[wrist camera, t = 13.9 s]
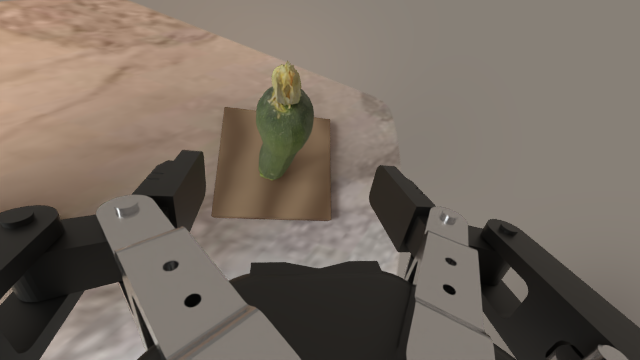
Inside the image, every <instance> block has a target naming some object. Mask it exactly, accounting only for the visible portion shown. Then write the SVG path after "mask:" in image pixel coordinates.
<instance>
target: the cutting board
mask: <svg viewBox="0 0 640 360" xmlns="http://www.w3.org/2000/svg"><path fill="white" fill-rule="evenodd" d="M262 144H263V141H262V139H261V136H260V133H259V131H258V129H257V125H256V111H255V110H246V109H238V108H229V107H225V108H224V117H223V125H222V133H221V141H220V149H219V158H218V166H217V174H216V182H215V191H214V199H213V207H212V215H211V216H212V217H214V218H244V219H277V220H311V221H329V220H331V179H330V119H322V118H314V122H313V128H312V132H311V134H310V136H309V138H308V140H307V142H306V143H305V144H304V146H303V147H302V149H300V150H299V151H298V152H297V153H296V155H295V157H294V159H293V161H292V163H291V164H290V166H289V167H288V169H287V170H286V172H285V173H284V174H283V176H282V177H280V178H278V179H276V180H272V181H271V180H270V179H265V178H264V177H261V176H260V172H259V153H260V149H261V146H262Z"/></svg>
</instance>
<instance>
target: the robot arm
mask: <svg viewBox="0 0 640 360" xmlns="http://www.w3.org/2000/svg"><path fill="white" fill-rule="evenodd" d="M205 190H206V181H205V166H204V155H203V152H202V151H189V150H182V151H181V152H180V154H179V155H178V156H177V157H176V159H175V160H174V161H169V160H168V161H166V162H164V163H162V164H160V165H158V166H156V168H155V169H154V170H153V171H152V172H151V174H149V175H148V177H147V178H146V179H145V180H144V181H143V182H142V183H141V184H140V186H139V187H138V188H137V189H136V190H135V191H134V192H133V193H132V195H126V196H121V197H117V198H114V199H111V200H109V201H107V202H105V203H104V204H102V205H101V206H100V207H99V208H98V209H97V211H96V215H91V216H84V217H77V218H70V219H63V220H61V219H60V217H59V214H58V212H57V210H56V209H55V208H53V207H49V206H41V205H36V206H26V207H20V208H15V209H11V210H8V211H5V212H2V213H0V299H1V298H2V297H3V296H4V295H5V293H6V292H7V291H8V290H9V289H10V288H12V290H13V292H12V293H11V294H10V295H9V296H8V297H7V298H6V300H5V301H4V302H3V303H2V304H1V305H0V360H39V359H40V358H41V356H42V355H43V353H44V352H45V350H46V349H47V347H48V346H49V344H50V342H51V341H52V339H53V338H54V336H55V335H56V333H57V332H58V330H59V329H60V327H61V326H62V324H63V323H64V321H65V320H66V318H67V317H68V315H69V314H70V312H71V311H72V309H73V307H74V306H75V304H76V303H77V301H78V300H79V298H80V297H81V295H82V294H83V292H84V290H88V289H92V288H96V287H100V286H104V285H108V284H112V283H116V282H118V284H119V286H120V289H121V291H122V293H123V296H124V298H125V300H126V303H127V305H128V307H129V310H130V312H131V314H132V317H133V319H134V321H135V324H136V326H137V329H138V331H139V334H140V337H141V340H142V342H143V345H144V348H145V350H146V352H145V353H144V354H143V355H142V356H140V357H139V358H138V359H137V360H516V359H517V360H640V328H639V327H638V326H637V325H635V324H634V323H633V322H632V321H631V320H629V319H628V318H627V317H626V316H625V315H623V314H622V313H621V312H620V311H618V310H617V309H616V308H615V307H613V306H612V305H611V304H610V303H609V302H608V301H606V300H605V299H604V298H603V297H602V296H600V295H599V294H598V293H597V292H596V291H594V290H593V289H592V288H591V287H589V286H588V285H587V284H586V283H584V282H583V281H582V280H581V279H580V278H579V277H577V276H576V275H575V274H574V273H573V272H571V271H570V270H569V269H568V268H567V267H565V266H564V265H563V264H562V263H560V262H559V261H558V260H557V259H555V258H554V257H553V256H552V255H551V254H550V253H548V252H547V251H546V250H545V249H543V248H542V247H541V246H540V245H539V244H538V243H536V242H535V241H534V240H533V239H531V238H530V237H529V236H528V235H527V234H525V233H524V232H523V231H522V230H520V229H519V228H517V227H516V226H514V225H512V224H510V223H507V222H505V221H501V220H497V219H490V220H488V222H487V223H486V225H485V227H484V228H483V229H482V228H477V227H472V226H469V225H468V223H467V221H466V219H465V218H464V217H463V216H461V215H460V214H459V213H457V212H455V211H453V210H451V209H448V208H444V207H436V206H435V205H434V204H433V203H432V201H431V200H430V199H429V198H428V197H427V196H425V194H423V192H422V191H421V190H420V189H418V187H417V186H416V185H415V184H414V183H413V182H412V181H410V180H409V179H407V178H406V177H405V176H404V175H403V174H402V173H401V172H400V171H399V170H398V169H397V168H396V167H395V166H383V165H380V166H379V167H378V168H377V170H376V173H375V177H374V180H373V184H372V187H371V190H370V195H369V201H370V205H371V207H372V208H373V210H374V212H375V213H376V215H377V217H378V219H379V220H380V222H381V224H382V225H383V227H384V229H385V231H386V232H387V234H388V236H389V238H390V239H391V241H392V243H393V244H394V246H395V248H396V250H397V251H398V252H410V253H411V255H410V257H409V259H408V263H407V266H406V269H405V273H404V276H403V278H401V277H399V276H396V275H394V274H391V273H388V272H384V271H382V270H381V268H380V266H379V264H378V262H377V261H348V262H344V263H340V264H336V265H332V266H328V267H324V268H312V267H307V266H302V265H296V264H291V263H286V262H269V263H251V269H250V273H249V274H246V275H242V276H239V277H236V278H234V279H232V280H230V281H228V280H227V279H226V278H225V276H224V275H223V274H222V273H221V271H220V270H219V269H218V268H217V266H216V265H215V264H214V263H213V261H212V260H211V259H210V258H209V256H208V255H207V254H206V253H205V251H204V250H203V249H202V248H201V246H200V245H199V244H198V243H197V241H196V240H195V239H194V238H193V236H192V235H191V234H190V233H189V232H190V230H191V228H192V225H193V223H194V220H195V218H196V216H197V213H198V211H199V209H200V206H201V204H202V202H203V199H204V196H205ZM510 267H512V268H513V269H514V270H515V271H516V272H517V273H518V274H519V275H520V277H522V279H524V281H525V282H526V284H527V286H528V295H527V297H526V298H525V300H524V301H523V302H522V303H521V302H520V301H519V300H518V298H517V297H516V296H515V295H514V294H513V293H512V291H511V290H510V289H509V288H508V287H507V286H506V285H505V283H504V282H503V281H502V280H501V279H502V278H503V277H504V275H505V274H506V272H507V271H508V270H509V268H510ZM483 312H484V314H485V315H486V316H487V318H488V319H489V321H490V322H491V323H492V325H493V326H494V328H495V329H496V331H497V332H498V333H499V335H500V336H501V338H502V339H503V341H504V342H505V343H506V344H507V346H508V348H509V349H510V350H511V352H512V353H513V355H514V356H515V357H516V359H515V358H513V357H512V356H510V355H509V354H508V353H506V352H505V351H504V350H502V349H501V348H500V347H498V346H497V345H495V344H494V343H493V342H492V339H491V337H490V336H489V335H487V334H486V333H485V330H484V323H483Z"/></svg>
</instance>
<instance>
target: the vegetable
mask: <svg viewBox="0 0 640 360" xmlns="http://www.w3.org/2000/svg"><path fill="white" fill-rule="evenodd" d="M272 86H273V87H271V88H269V89H268V90H267V91H266V92H265V93H264V94H263V96H262V97H261V98H260V100H259V102H258V105H257V110H256V125H257V129H258V131H259V133H260V136H261V139H262V141H263V144H262V146H261V149H260V153H259V172H260V176H261V177H264V178H265V179H270V180H271V181H272V180H276V179H278V178H280V177H282V176H283V174H284V173H285V172H286V170H287V169H288V167H289V166H290V164H291V163H292V161H293V159H294V157H295V155H296V153H297V152H298V151H299V150H300V149H302V147H303V146H304V144H305V143H306V142H307V140H308V138H309V136H310V134H311V132H312V128H313V122H314V110H313V106H312V103H311V101H310V99H309V97H308V96H307V95H306V94H305V92H304V91H303V90H302V89H301V81H300V76H299V73H298V72H297V70H295V69H294V65H291V64H290V63H289V62H288V61H287V63H286V65H282V64H281V66H278V67H277V68H275V70H274V72H273V75H272Z"/></svg>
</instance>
